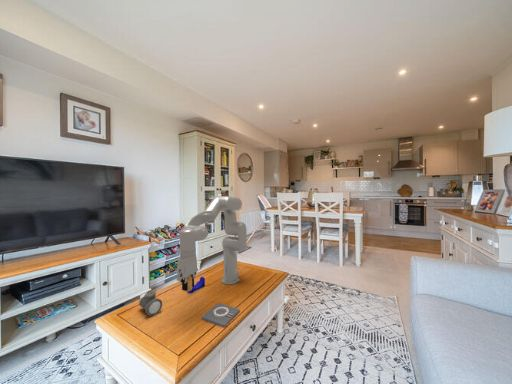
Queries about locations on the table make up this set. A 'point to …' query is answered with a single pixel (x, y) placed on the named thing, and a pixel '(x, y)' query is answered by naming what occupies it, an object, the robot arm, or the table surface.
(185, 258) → the robot arm
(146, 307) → the pipe fitting
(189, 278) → the tan wooden peg
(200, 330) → the table surface
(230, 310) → the plate
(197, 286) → the cable clip
